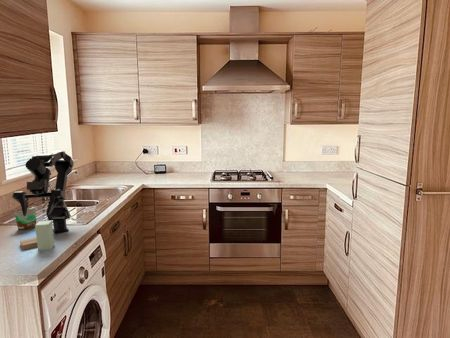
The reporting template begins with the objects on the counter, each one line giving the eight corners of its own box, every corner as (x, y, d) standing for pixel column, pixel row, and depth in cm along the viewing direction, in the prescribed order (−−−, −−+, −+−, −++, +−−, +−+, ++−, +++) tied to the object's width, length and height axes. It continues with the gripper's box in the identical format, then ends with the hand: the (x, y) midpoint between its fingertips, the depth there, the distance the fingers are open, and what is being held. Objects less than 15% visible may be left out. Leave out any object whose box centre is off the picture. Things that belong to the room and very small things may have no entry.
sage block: (41, 245, 141) (39, 221, 139) (54, 244, 142) (51, 220, 140) (37, 250, 136) (35, 225, 134) (50, 249, 137) (48, 224, 135)
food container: (26, 231, 159) (24, 212, 157) (15, 231, 160) (13, 211, 158) (44, 223, 171) (42, 205, 169) (34, 223, 172) (32, 204, 170)
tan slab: (20, 245, 142) (20, 240, 142) (38, 241, 146) (38, 236, 146) (22, 250, 137) (21, 245, 136) (41, 246, 141) (40, 241, 140)
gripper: (9, 173, 131) (2, 210, 124) (58, 171, 134) (54, 206, 127) (21, 184, 141) (15, 218, 134) (66, 182, 144) (63, 215, 137)
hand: (36, 215), depth 133 cm, fingers open, 9 cm apart
